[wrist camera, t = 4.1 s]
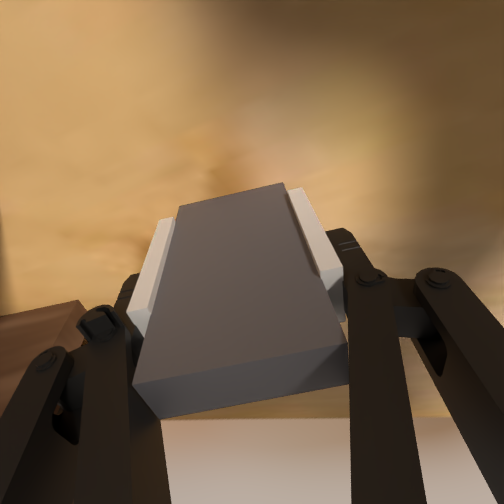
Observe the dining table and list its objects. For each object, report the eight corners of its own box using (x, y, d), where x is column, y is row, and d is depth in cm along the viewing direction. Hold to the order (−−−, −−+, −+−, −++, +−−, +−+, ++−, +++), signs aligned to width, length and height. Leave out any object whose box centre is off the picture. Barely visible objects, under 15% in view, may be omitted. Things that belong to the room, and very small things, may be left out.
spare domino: (179, 206, 17) (131, 384, 8) (283, 182, 17) (347, 342, 8) (191, 235, 19) (159, 419, 10) (288, 213, 18) (349, 384, 9)
